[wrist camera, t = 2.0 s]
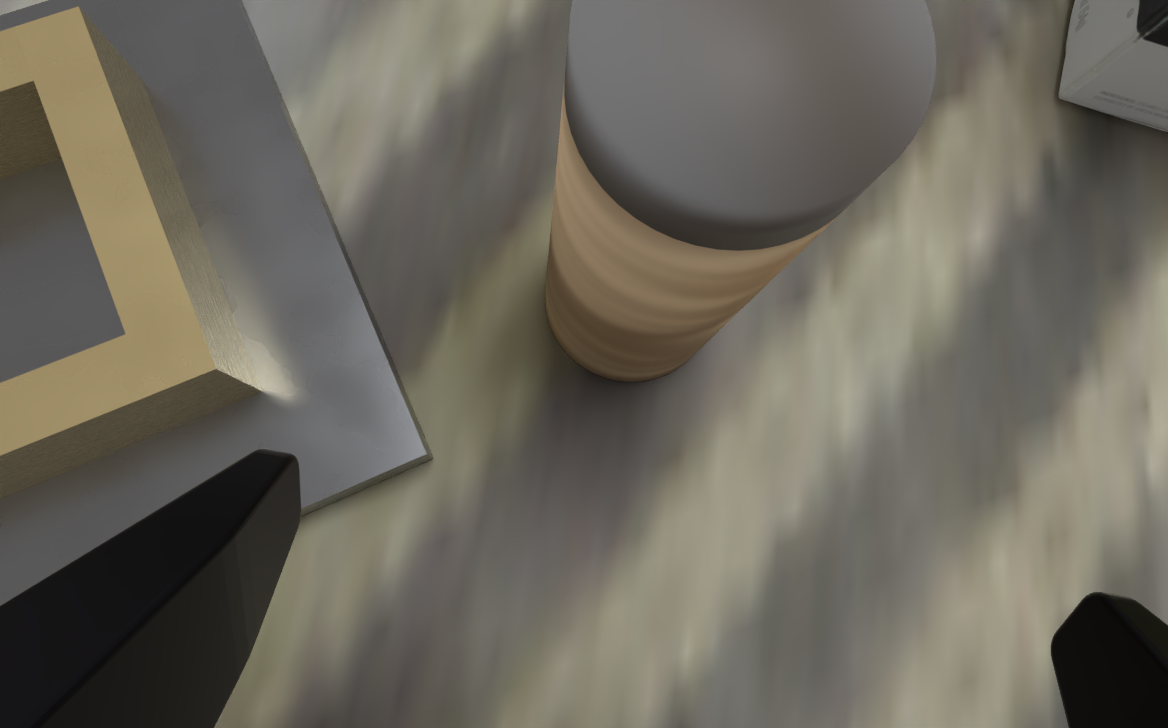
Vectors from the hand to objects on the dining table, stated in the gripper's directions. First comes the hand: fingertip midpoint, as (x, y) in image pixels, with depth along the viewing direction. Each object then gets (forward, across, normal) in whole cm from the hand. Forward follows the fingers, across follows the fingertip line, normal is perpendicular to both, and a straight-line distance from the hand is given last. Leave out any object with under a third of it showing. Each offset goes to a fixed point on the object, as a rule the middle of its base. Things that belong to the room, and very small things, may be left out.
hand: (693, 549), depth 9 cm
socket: (+11, +16, +7) cm, 21 cm away
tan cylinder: (+14, 0, +4) cm, 14 cm away
